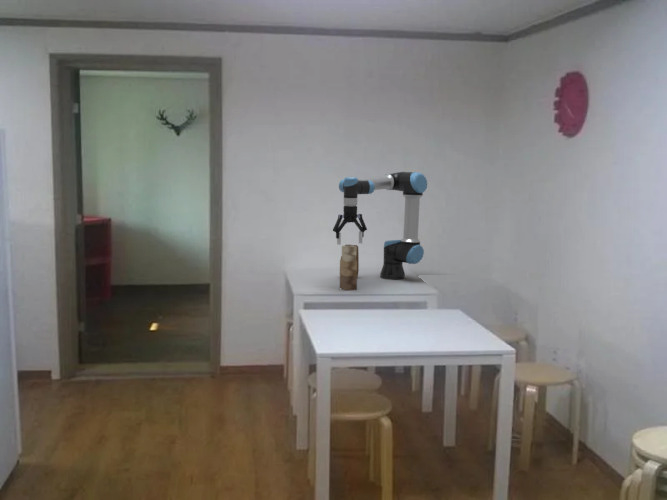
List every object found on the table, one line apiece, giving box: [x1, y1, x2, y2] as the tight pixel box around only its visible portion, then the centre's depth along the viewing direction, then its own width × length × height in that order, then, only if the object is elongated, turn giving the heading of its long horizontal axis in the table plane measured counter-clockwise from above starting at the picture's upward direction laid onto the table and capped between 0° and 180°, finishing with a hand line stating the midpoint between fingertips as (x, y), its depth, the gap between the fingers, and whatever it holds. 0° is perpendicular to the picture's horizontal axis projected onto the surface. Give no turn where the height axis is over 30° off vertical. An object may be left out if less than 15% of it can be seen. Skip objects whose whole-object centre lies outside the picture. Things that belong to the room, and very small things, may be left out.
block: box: [340, 244, 360, 278], centre depth 438 cm, size 11×8×20 cm
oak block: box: [339, 259, 357, 276], centre depth 402 cm, size 7×7×8 cm
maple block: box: [341, 244, 357, 262], centre depth 401 cm, size 6×6×8 cm
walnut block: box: [339, 274, 358, 291], centre depth 403 cm, size 7×7×8 cm
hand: (349, 243), depth 400 cm, fingers open, 13 cm apart
